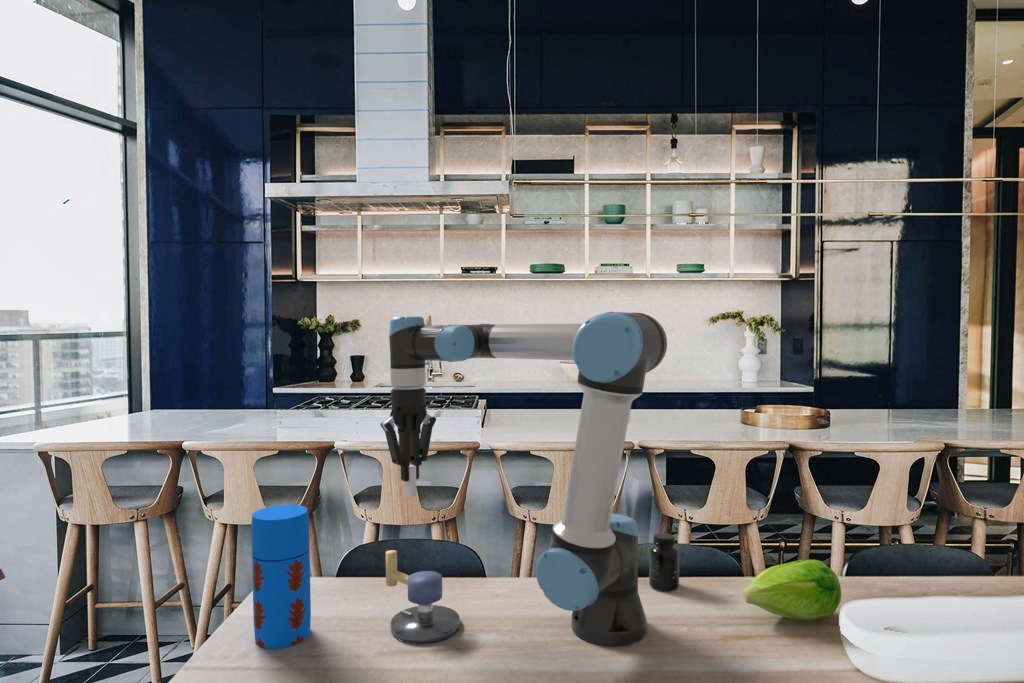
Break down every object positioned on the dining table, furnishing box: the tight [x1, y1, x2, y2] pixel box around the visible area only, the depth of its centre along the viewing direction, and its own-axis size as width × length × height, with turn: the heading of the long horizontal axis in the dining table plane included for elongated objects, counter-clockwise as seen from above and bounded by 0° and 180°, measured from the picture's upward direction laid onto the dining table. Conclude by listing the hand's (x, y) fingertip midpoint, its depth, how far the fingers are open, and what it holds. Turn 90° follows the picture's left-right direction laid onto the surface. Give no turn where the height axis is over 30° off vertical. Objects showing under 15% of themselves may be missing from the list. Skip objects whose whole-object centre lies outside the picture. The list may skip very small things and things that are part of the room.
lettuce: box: [742, 558, 842, 622], centre depth 137 cm, size 14×20×12 cm
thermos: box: [251, 504, 312, 650], centre depth 131 cm, size 11×11×25 cm
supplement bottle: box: [648, 532, 680, 593], centre depth 154 cm, size 7×7×12 cm
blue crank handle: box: [385, 549, 443, 605], centre depth 137 cm, size 16×7×7 cm, turn 48°
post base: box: [390, 603, 461, 645], centre depth 135 cm, size 14×14×6 cm
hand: (410, 494), depth 144 cm, fingers closed
